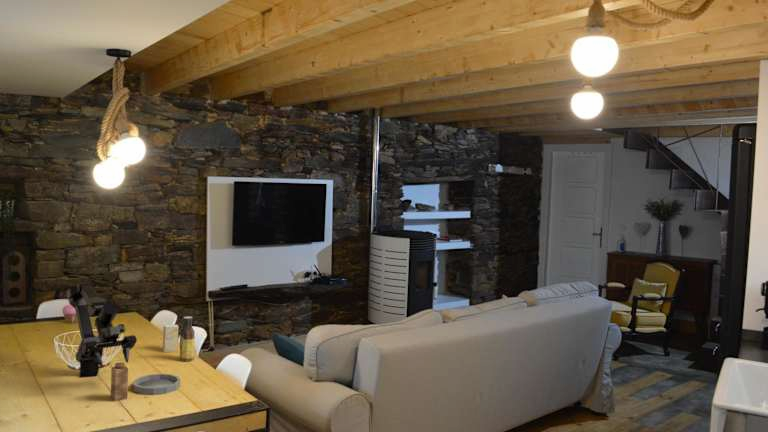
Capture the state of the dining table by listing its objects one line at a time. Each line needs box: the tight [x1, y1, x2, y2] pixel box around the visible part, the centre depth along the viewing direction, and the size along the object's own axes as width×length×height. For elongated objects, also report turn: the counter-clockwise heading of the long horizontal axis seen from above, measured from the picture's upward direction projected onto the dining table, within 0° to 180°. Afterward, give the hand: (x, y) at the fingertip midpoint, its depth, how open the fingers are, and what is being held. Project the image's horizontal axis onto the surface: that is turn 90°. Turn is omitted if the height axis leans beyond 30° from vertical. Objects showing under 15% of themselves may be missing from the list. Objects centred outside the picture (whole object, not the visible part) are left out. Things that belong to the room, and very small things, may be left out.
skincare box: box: [162, 323, 179, 353], centre depth 282 cm, size 6×4×12 cm
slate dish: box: [132, 373, 181, 396], centre depth 234 cm, size 17×17×2 cm
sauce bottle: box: [179, 315, 195, 362], centre depth 269 cm, size 6×6×20 cm
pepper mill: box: [110, 362, 129, 402], centre depth 220 cm, size 4×4×13 cm
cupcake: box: [61, 304, 78, 324], centre depth 326 cm, size 9×9×10 cm
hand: (115, 364), depth 223 cm, fingers open, 9 cm apart
